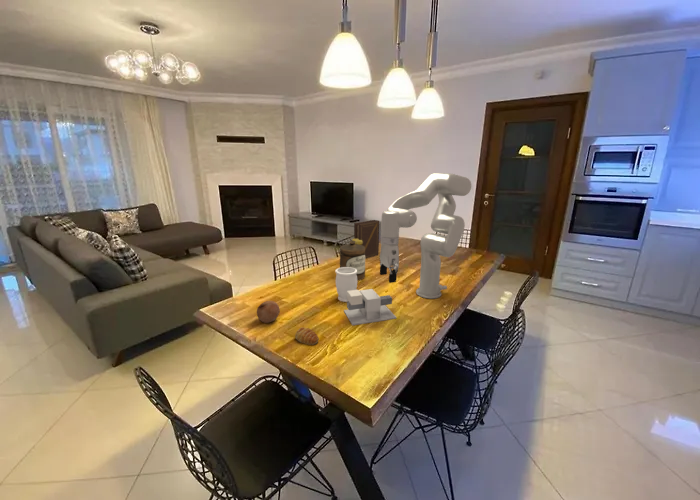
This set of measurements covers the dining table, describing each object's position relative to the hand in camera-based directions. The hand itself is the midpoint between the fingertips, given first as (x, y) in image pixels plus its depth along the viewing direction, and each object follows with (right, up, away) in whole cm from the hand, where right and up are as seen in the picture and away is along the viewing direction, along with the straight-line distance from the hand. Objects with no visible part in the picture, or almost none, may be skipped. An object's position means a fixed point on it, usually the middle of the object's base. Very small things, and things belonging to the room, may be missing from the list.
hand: (387, 278), depth 133 cm
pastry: (-33, -22, -16) cm, 43 cm away
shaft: (-8, -12, +1) cm, 14 cm away
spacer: (-14, -10, -2) cm, 18 cm away
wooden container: (-15, -4, +48) cm, 50 cm away
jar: (-18, -12, +19) cm, 29 cm away
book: (-5, +7, +85) cm, 85 cm away
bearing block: (-8, -16, +2) cm, 18 cm away
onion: (-51, -18, -2) cm, 54 cm away
